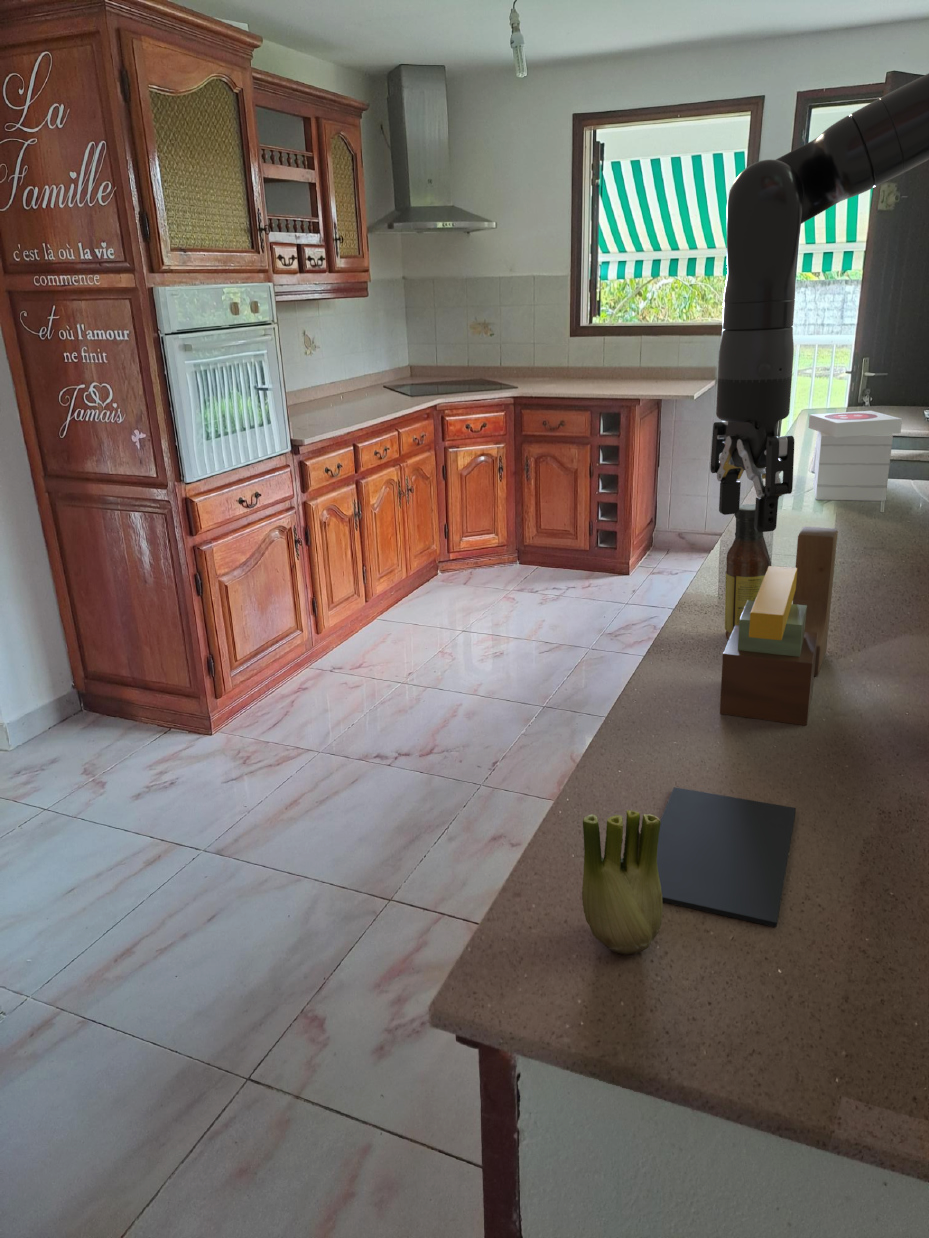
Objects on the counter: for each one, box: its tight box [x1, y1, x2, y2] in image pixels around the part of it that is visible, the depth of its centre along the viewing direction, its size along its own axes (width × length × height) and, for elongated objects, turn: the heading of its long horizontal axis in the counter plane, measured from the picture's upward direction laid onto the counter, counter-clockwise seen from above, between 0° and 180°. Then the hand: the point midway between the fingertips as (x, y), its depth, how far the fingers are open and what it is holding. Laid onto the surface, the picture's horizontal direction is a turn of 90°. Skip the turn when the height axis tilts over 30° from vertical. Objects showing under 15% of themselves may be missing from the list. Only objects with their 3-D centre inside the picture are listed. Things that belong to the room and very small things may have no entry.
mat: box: [657, 786, 797, 928], centre depth 82 cm, size 18×12×1 cm, turn 156°
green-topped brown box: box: [719, 601, 818, 726], centre depth 108 cm, size 10×10×12 cm
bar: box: [749, 565, 797, 640], centre depth 105 cm, size 18×4×3 cm, turn 156°
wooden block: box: [792, 526, 839, 677], centre depth 117 cm, size 9×4×18 cm, turn 153°
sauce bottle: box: [724, 503, 772, 641], centre depth 126 cm, size 6×6×20 cm
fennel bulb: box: [581, 809, 664, 955], centre depth 70 cm, size 6×5×12 cm
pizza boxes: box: [808, 410, 903, 502], centre depth 212 cm, size 19×30×18 cm, turn 162°
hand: (746, 521), depth 99 cm, fingers open, 8 cm apart
